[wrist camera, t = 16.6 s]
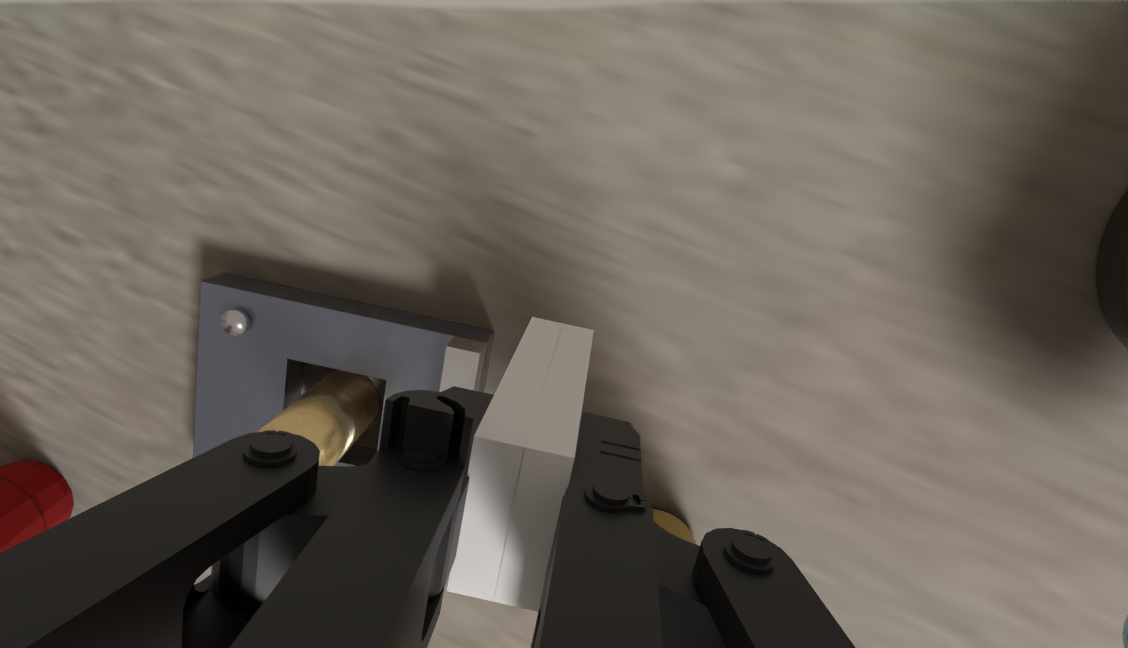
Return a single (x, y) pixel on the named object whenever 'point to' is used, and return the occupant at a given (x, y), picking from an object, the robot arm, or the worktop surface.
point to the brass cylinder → (331, 414)
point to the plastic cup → (31, 501)
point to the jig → (314, 354)
